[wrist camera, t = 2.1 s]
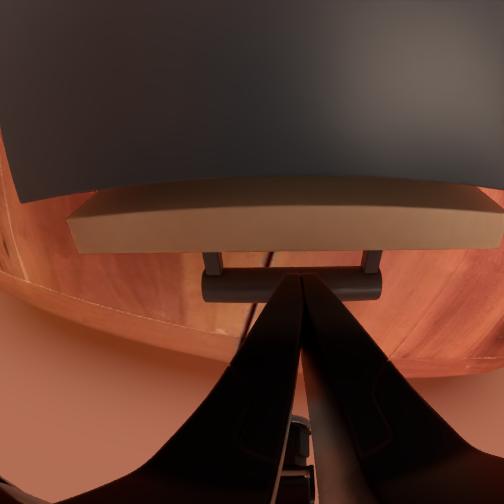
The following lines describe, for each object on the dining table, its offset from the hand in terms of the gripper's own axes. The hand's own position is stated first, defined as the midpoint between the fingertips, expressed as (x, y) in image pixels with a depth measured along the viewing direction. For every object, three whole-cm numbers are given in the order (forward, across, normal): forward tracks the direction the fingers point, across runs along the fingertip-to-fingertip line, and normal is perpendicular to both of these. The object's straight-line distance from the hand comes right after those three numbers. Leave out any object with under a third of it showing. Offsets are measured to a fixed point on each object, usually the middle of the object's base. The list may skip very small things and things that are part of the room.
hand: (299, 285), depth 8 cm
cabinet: (+8, 0, -12) cm, 14 cm away
